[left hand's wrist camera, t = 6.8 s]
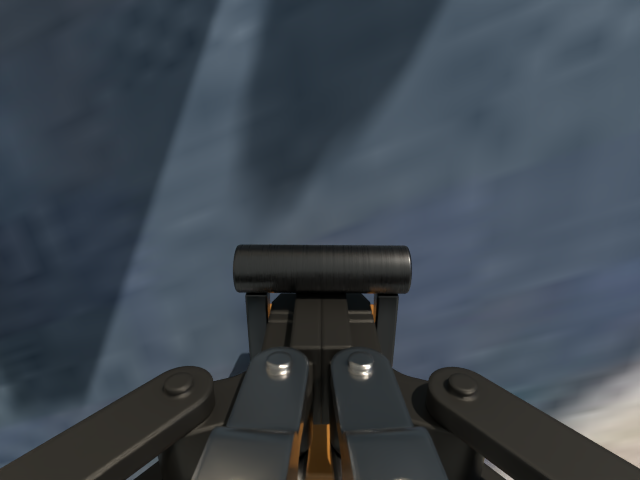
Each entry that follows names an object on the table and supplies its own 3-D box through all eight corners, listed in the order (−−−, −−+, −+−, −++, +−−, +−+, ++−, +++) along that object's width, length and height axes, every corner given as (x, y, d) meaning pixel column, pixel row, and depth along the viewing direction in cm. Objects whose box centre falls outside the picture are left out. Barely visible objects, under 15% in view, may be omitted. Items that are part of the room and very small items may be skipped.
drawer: (262, 187, 16) (204, 289, 8) (382, 188, 16) (441, 291, 8) (279, 528, 24) (259, 745, 16) (359, 529, 24) (377, 746, 16)
